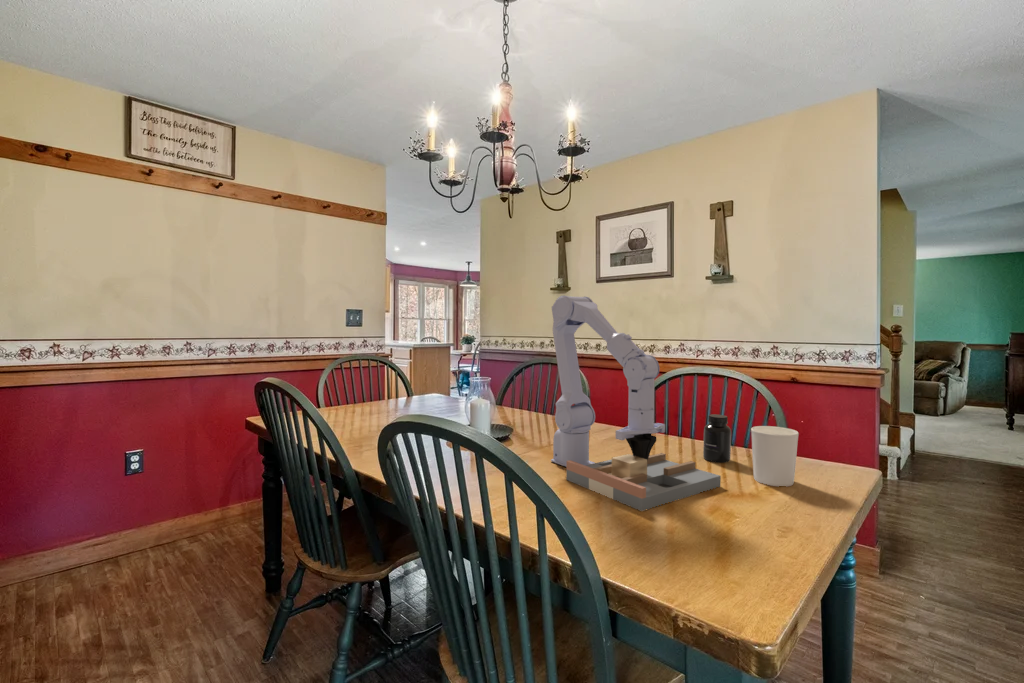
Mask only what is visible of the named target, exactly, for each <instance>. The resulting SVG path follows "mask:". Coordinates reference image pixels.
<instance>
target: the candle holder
mask: <svg viewBox="0 0 1024 683" xmlns="http://www.w3.org/2000/svg"><path fill="white" fill-rule="evenodd" d="M750 431H751V452H752V474H753V479H754V480H755V482H758V483H760V484H762V483H763V484H762V485H766V484H767V485H766V486H771V487H779V486H786V487H791V486H793V485H794V484H795V478H796V476H795V473H796V465H797V454H798V453H797V452H798V443H799V442H798V441H799V435H800V433H799V432H798V431H797V430H795V429H792V428H788V427H782V426H774V425H773V426H771V425H757V426H756V425H755V426H753V427H751V428H750Z"/></svg>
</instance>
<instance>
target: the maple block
mask: <svg viewBox="0 0 1024 683" xmlns="http://www.w3.org/2000/svg"><path fill="white" fill-rule="evenodd" d="M611 460H612V475H613V476H615V477H618V478H621V479H622V478H626V477H630V476H634V475H637V474H641V473H644V474H647V459H644V458H640V457H637V456H633V454H630V453H627V454H623V455H618V456H614V457H611Z"/></svg>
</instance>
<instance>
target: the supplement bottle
mask: <svg viewBox="0 0 1024 683" xmlns="http://www.w3.org/2000/svg"><path fill="white" fill-rule="evenodd" d="M707 423H708V424H706V425H705V426H704V428H703V447H702V448H703V452H702V456H703V459H705V460H706V461H709V462H711V463H712V462H713V463H721V464H723V463H728V462H730V460H731V450H732V449H731V447H732V429H731V428H730V426H729V425H728V424H729V422H728V416H727V415H724V414H709V415H708V417H707Z"/></svg>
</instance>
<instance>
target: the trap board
mask: <svg viewBox="0 0 1024 683" xmlns="http://www.w3.org/2000/svg"><path fill="white" fill-rule="evenodd" d="M696 464H697V462H695V461H694V460H693V461H692V460H690V461H685V462H682V463H678V462H674V461H671V460H668V459H667V456H666V453H663V452H660V453H656V454H649V457H648V461H647V474H644V473H641V474H637V475H634V476H630V477H626V478H622V479H621V478H618V477H615V476H613V475H612V459H608V460H605V461H603V460H602V461H600V462H599V461H598V462H595V463H593V464H589V465H582V464H580V463H577V462H574V461H571V460H569V461H567V467H566V472H565V473H566V477H565V478H566V480H567V481H568V482H571V483H573V484H574V485H575V484H576V485H578V486H580V487H582V488H585V489H587V490H591V491H593V492H594V491H595V492H594V493H597V494H599V493H600V495H602V496H604V495H605V496H604V497H606V496H607V498H609V499H611V498H612V499H611V500H614V501H616V500H617V501H616V502H618V501H619V502H618V503H621V504H624V505H625V504H626V506H629V507H630V506H631V507H630V508H633V509H635V510H637V509H638V510H637V511H640V512H644V511H647V510H650V508H651V509H653V508H652V507H654V508H656V507H655V506H657V507H659V506H658V505H660V506H662V505H661V504H663V505H666V504H665V503H667V504H668V502H670V503H672V501H673V502H676V501H679V500H682V499H685V498H689V497H692V496H695V495H698V494H701V493H700V492H702V493H704V492H703V491H705V492H708V491H711V490H713V488H714V489H717V488H716V487H718V488H720V487H721V480H722V479H721V475H720V474H716V473H712V472H710V471H707V470H702V469H699V468H696ZM710 489H711V490H710ZM707 490H708V491H707ZM691 495H692V496H691ZM678 499H679V500H678ZM675 500H676V501H675ZM646 509H647V510H646Z"/></svg>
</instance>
